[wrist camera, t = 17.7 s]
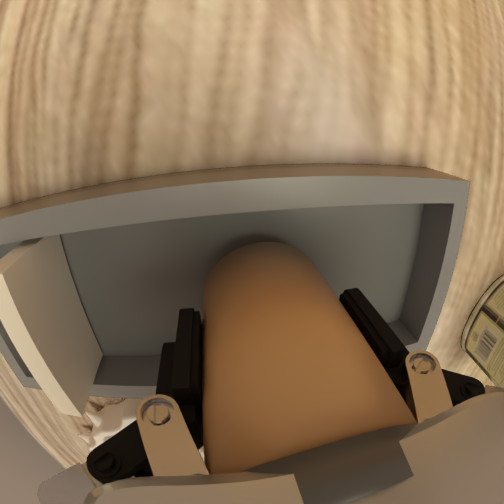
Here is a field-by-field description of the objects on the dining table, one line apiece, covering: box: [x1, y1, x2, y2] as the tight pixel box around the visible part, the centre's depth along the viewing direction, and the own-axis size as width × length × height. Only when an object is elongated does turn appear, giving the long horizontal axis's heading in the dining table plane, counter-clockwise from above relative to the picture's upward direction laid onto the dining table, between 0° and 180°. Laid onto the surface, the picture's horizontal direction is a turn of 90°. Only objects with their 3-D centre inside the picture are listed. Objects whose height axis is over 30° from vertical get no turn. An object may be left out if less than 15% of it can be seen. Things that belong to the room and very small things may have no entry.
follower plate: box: [0, 235, 103, 417], centre depth 11 cm, size 8×4×5 cm, turn 3°
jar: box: [202, 242, 418, 504], centre depth 9 cm, size 6×6×10 cm
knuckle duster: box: [78, 398, 204, 461], centre depth 21 cm, size 3×18×15 cm
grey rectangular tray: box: [0, 164, 470, 399], centre depth 14 cm, size 11×28×4 cm, turn 93°
